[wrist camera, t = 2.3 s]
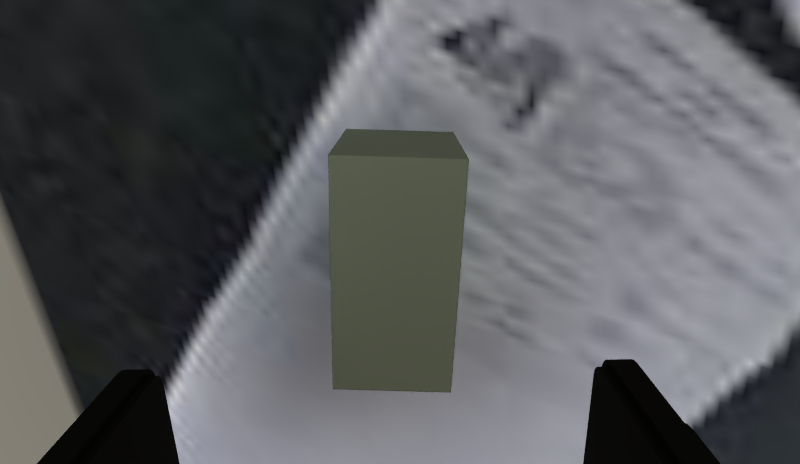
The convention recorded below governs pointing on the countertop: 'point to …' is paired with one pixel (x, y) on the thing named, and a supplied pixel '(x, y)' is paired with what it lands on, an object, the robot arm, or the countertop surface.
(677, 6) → the countertop surface
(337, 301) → the sage brick
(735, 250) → the countertop surface
